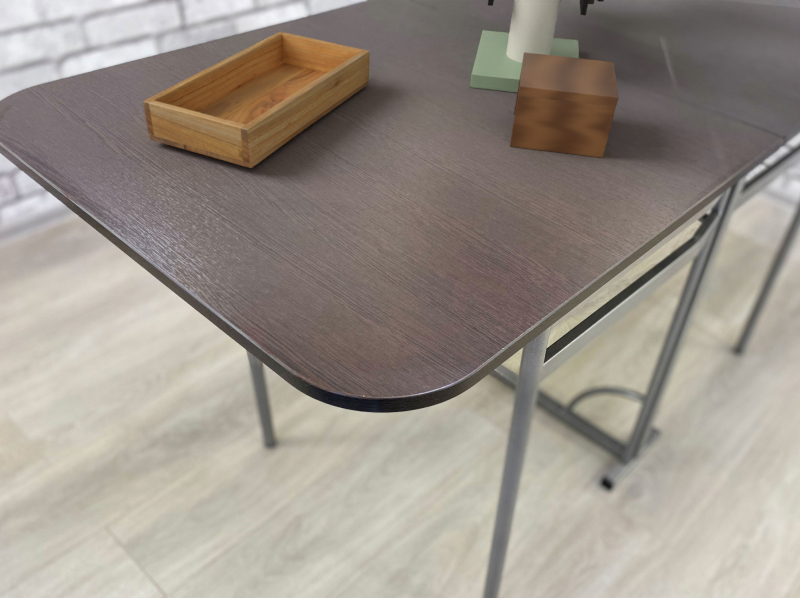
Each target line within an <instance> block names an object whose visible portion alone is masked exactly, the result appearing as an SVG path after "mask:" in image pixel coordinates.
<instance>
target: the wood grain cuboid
mask: <svg viewBox="0 0 800 598" xmlns="http://www.w3.org/2000/svg"><path fill="white" fill-rule="evenodd" d="M618 101H619V91H618V85H617V77H616V70H615V63H614V61H606V60H597V59H587V58H580V57H579V58H571V57H562V56H553V55H543V54H534V53H525V52H524V55H523V61H522V67H521V73H520V79H519V85H518V91H517V93H516V97H515V104H514V111H513V115H514V118H513V124H512V130H511V134H510V135H511V136H510V143H509V147H510V148H511V147H512V148H519V149H527V150H534V151H535V150H537V151H545V152H551V153H561V154H569V155H578V156H587V157H594V158H604V154H605V151H606V147H607V144H608V140H609V136H610V132H611V127H612V124H613V120H614V117H615V112H616V109H617V105H618Z"/></svg>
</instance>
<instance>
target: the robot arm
mask: <svg viewBox="0 0 800 598" xmlns="http://www.w3.org/2000/svg"><path fill="white" fill-rule="evenodd" d="M596 1H597V2H600V3H601V2H602V3H603V2H604V1H605V0H596ZM494 3H495V0H487V6H489V7H491V6H492V7H493V6H494ZM594 4H595V0H579V9H580V10H579V14H580V15H581V16H586V15H587V11H588V7H589V5H594Z"/></svg>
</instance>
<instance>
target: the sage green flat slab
mask: <svg viewBox="0 0 800 598" xmlns="http://www.w3.org/2000/svg"><path fill="white" fill-rule="evenodd" d="M508 38H509V32H506V31H505V32H503V31H494V30H485V29H483V30H482V32H481V35H480V40H479V42H478V43H479V44H478V47H477V51H476V55H475V59H474V63H473V67H472V71H471V75H470V84H469V85H470V86H469V88H474V89H482V90H483V89H484V90H490V91H500V92H508V93H516V94H517V91H518V85H519V79H520V73H521V67H522V63H520V62H516V61H514V60H512V59H510V58H508V57H507V55H506V52H507V45H508ZM579 52H580V51H579V40H578V39H568V38H561V37H553V42H552V48H551V53H550V55H553V56H562V57H571V58H580V53H579Z"/></svg>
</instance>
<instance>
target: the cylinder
mask: <svg viewBox="0 0 800 598" xmlns="http://www.w3.org/2000/svg"><path fill="white" fill-rule="evenodd" d="M560 5H561V0H513V6H512V13H511V20H510V25H509V31H508V33H509V38H508V45H507V52H506V55H507V57H508V58H510V59H512V60H514V61H516V62H520V63H522V61H523V55H524V52H525V53H534V54H543V55H550V53H551V48H552V42H553V38H555V37H554V36H555V32H556V26H557V22H558V21H557V20H558V16H559V11H560Z"/></svg>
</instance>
